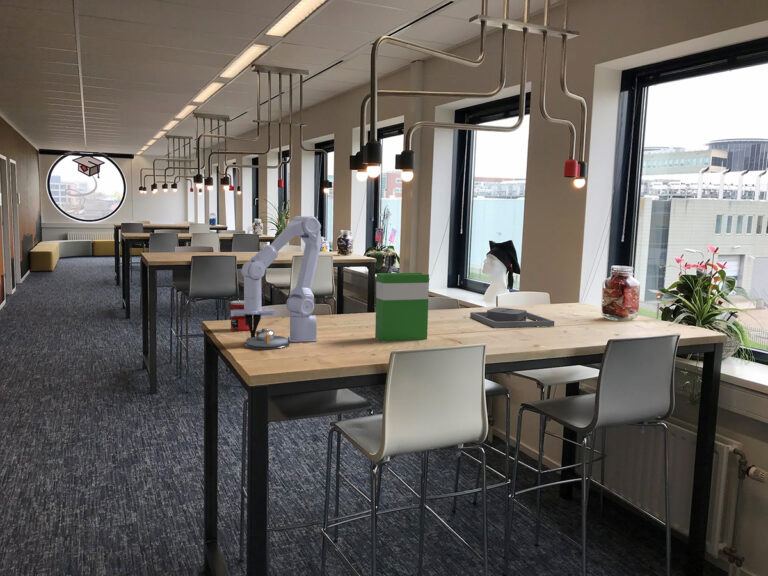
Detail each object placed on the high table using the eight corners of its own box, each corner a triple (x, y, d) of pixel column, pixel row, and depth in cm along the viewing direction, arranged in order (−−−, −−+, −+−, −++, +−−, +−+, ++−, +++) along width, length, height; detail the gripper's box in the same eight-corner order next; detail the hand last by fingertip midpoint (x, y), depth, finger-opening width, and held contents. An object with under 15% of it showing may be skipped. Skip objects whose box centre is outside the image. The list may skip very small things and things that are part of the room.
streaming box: (497, 318, 283) (497, 307, 282) (527, 322, 275) (528, 310, 275) (484, 322, 271) (484, 310, 270) (516, 326, 263) (516, 314, 263)
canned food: (229, 328, 241) (229, 300, 240) (249, 327, 244) (249, 300, 243) (232, 332, 234) (232, 303, 233) (253, 331, 237) (253, 302, 236)
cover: (273, 337, 216) (273, 327, 215) (274, 341, 210) (274, 330, 210) (256, 338, 214) (256, 327, 214) (256, 341, 209) (256, 330, 208)
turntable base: (287, 340, 222) (287, 338, 222) (291, 349, 207) (291, 347, 207) (244, 341, 218) (244, 340, 218) (245, 350, 204) (245, 348, 204)
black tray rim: (524, 316, 289) (525, 311, 289) (554, 326, 263) (554, 321, 263) (470, 317, 282) (470, 312, 282) (494, 328, 256) (494, 322, 256)
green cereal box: (419, 335, 236) (420, 272, 234) (427, 339, 229) (429, 274, 227) (375, 337, 230) (376, 273, 227) (382, 341, 223) (383, 275, 221)
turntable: (245, 339, 218) (245, 327, 217) (286, 338, 221) (286, 326, 221) (246, 348, 203) (246, 335, 203) (289, 347, 207) (290, 334, 206)
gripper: (230, 298, 204) (230, 339, 206) (275, 298, 208) (275, 338, 209) (230, 296, 211) (230, 335, 212) (274, 295, 214) (273, 334, 216)
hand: (252, 336), depth 211 cm, fingers closed
